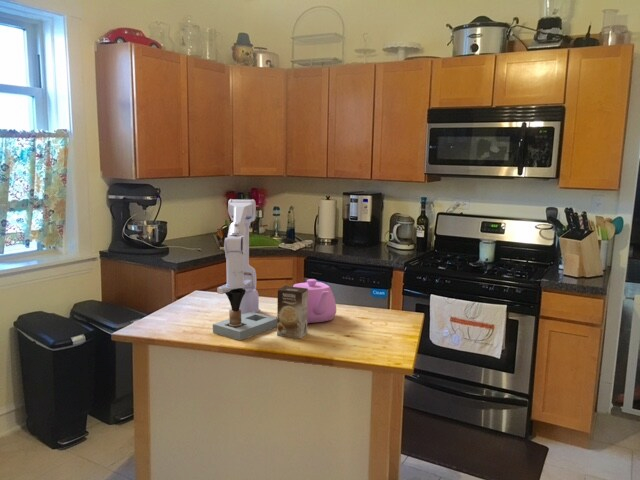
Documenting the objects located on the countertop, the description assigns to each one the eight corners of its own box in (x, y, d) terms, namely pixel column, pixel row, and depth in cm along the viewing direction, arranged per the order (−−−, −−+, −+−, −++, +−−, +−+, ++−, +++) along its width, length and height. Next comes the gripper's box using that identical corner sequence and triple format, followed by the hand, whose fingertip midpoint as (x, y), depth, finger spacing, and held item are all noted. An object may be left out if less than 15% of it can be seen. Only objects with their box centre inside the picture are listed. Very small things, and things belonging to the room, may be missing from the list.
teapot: (273, 316, 202) (273, 277, 199) (323, 310, 210) (324, 273, 208) (293, 334, 181) (293, 291, 179) (349, 327, 189) (349, 286, 187)
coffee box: (276, 335, 180) (276, 289, 177) (283, 330, 186) (283, 285, 183) (301, 339, 177) (301, 292, 174) (308, 333, 183) (308, 287, 180)
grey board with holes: (251, 319, 197) (251, 311, 197) (277, 326, 190) (277, 318, 189) (212, 332, 182) (212, 324, 182) (240, 340, 174) (239, 331, 174)
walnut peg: (236, 330, 185) (235, 308, 184) (244, 332, 182) (243, 310, 181) (227, 333, 182) (226, 310, 180) (235, 335, 179) (234, 312, 178)
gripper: (227, 276, 170) (228, 317, 172) (258, 269, 182) (258, 307, 184) (212, 273, 174) (213, 313, 176) (243, 266, 186) (244, 304, 188)
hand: (235, 310), depth 180 cm, fingers closed
